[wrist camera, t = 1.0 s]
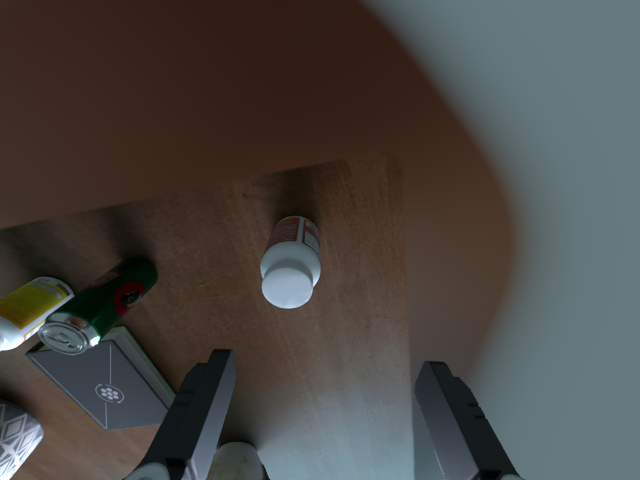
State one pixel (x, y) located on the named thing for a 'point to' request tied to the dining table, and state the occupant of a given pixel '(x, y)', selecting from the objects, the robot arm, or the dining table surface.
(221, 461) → the sugar bowl
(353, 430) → the dining table surface
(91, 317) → the soda can
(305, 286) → the pill bottle
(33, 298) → the supplement bottle
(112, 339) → the book
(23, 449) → the planter
